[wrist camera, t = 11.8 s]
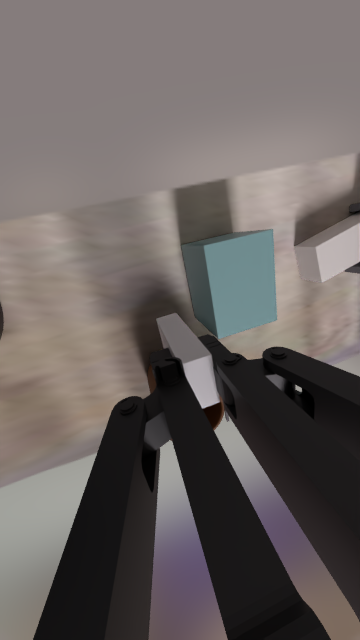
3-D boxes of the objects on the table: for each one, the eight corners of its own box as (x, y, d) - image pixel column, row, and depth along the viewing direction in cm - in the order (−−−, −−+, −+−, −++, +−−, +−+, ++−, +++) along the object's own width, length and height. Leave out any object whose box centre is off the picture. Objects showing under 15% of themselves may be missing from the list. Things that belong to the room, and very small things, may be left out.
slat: (299, 278, 33) (321, 283, 30) (292, 246, 31) (315, 247, 28) (364, 242, 34) (393, 242, 31) (361, 209, 32) (392, 204, 29)
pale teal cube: (194, 316, 30) (218, 339, 23) (181, 245, 27) (203, 245, 20) (241, 302, 31) (277, 320, 24) (233, 232, 28) (272, 229, 21)
